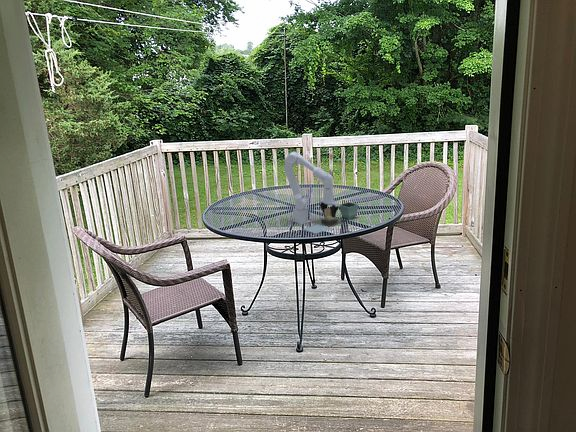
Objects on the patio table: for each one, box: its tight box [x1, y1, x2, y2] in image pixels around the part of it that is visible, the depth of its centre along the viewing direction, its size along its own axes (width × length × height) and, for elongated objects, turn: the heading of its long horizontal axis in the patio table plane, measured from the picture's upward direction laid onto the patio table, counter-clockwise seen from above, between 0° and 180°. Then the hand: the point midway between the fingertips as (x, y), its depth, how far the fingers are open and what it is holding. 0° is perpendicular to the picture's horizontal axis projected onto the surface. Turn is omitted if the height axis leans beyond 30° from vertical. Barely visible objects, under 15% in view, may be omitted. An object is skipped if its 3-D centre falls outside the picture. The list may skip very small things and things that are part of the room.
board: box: [302, 223, 332, 235], centre depth 272 cm, size 12×12×1 cm
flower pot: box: [338, 201, 359, 220], centre depth 289 cm, size 9×9×9 cm
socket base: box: [311, 216, 348, 228], centre depth 284 cm, size 16×16×2 cm
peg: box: [324, 207, 334, 221], centre depth 283 cm, size 4×4×8 cm
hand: (329, 216), depth 283 cm, fingers open, 7 cm apart
